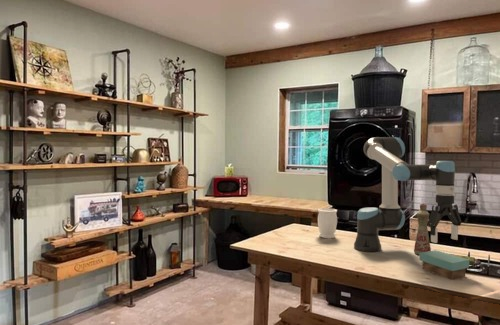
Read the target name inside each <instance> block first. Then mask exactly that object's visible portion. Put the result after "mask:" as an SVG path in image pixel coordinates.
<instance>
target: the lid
mask: <svg viewBox="0 0 500 325" xmlns="http://www.w3.org/2000/svg"><path fill="white" fill-rule="evenodd" d="M447 253H448V252H443V251H440V250H436V249H434V250H433V249H432V250H431V251H427V252H421V253H420V255H419V258H418V259H419V261H420V262H421V261H422V262H423V261H424V262H427V263H430V264H433V265H436V266H439V267H442V268H445V269H448V270H451V271H455V270H460V269H465V270H466V269H469V268H470V267H469V260H468V259H465V258H461V257H458V256H454V255H451V254H452V253H449V254H447Z"/></svg>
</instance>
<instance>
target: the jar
mask: <svg viewBox="0 0 500 325" xmlns="http://www.w3.org/2000/svg"><path fill="white" fill-rule="evenodd" d="M317 212H318V214H317V225H318V230H319V234H318V235H319V237H320V238H323V239H333V238H336V236H335V233H336V231H337V225H338V216H337V213H338V209H335V208H328V207H324V208H321V207H320V208H318V209H317Z"/></svg>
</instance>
